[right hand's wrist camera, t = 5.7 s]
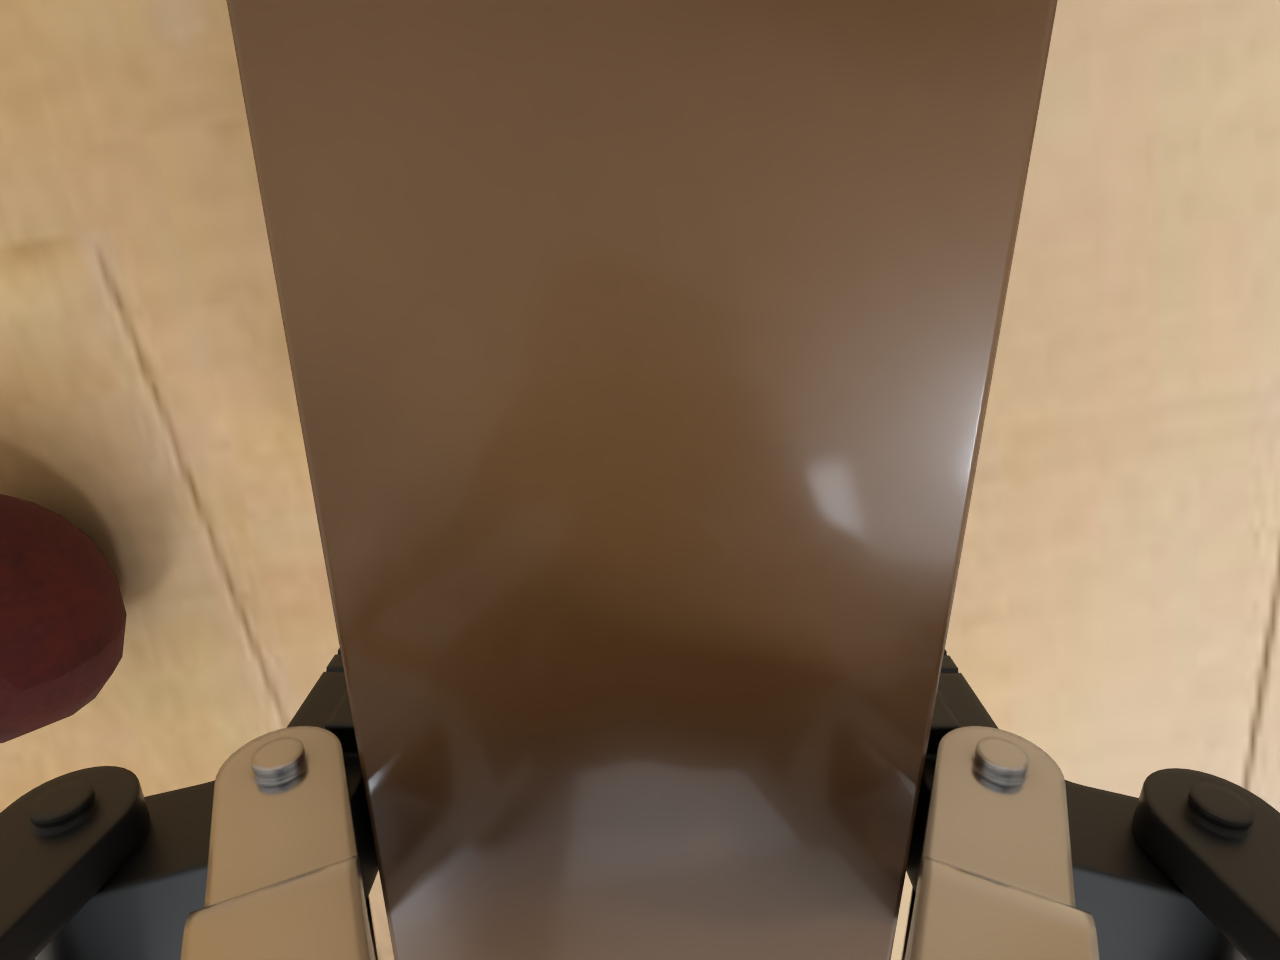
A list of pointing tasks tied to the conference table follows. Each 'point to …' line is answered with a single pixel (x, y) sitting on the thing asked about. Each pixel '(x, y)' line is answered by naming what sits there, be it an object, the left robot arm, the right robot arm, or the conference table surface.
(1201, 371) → the conference table surface
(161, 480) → the conference table surface
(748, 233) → the bar
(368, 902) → the right robot arm
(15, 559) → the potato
